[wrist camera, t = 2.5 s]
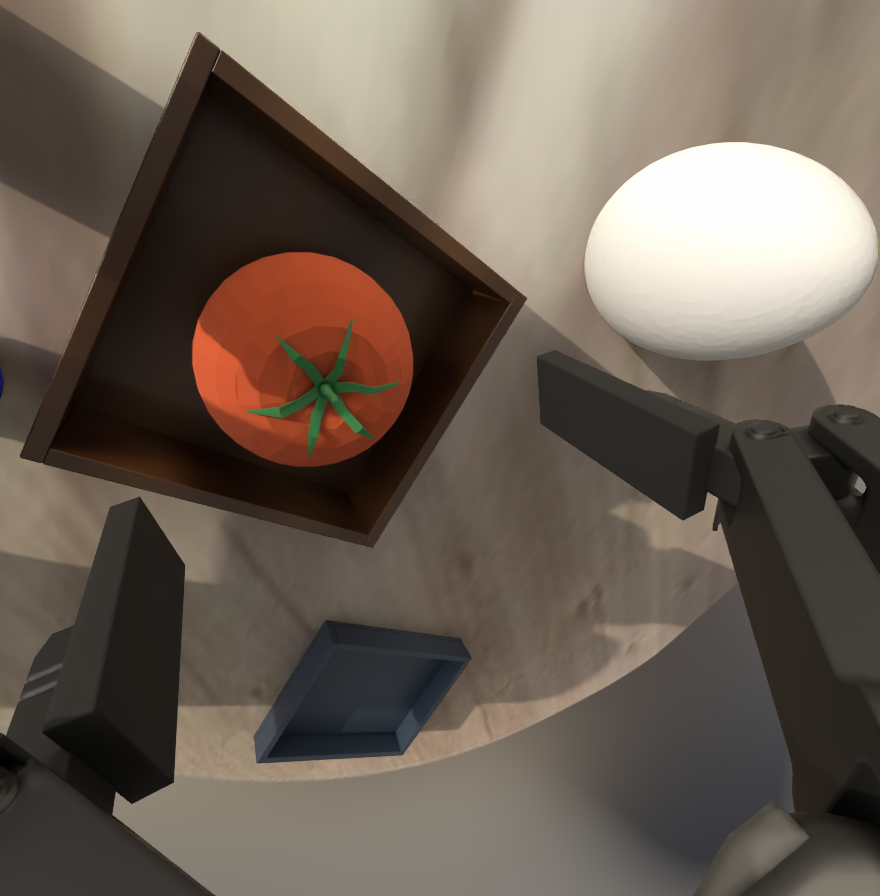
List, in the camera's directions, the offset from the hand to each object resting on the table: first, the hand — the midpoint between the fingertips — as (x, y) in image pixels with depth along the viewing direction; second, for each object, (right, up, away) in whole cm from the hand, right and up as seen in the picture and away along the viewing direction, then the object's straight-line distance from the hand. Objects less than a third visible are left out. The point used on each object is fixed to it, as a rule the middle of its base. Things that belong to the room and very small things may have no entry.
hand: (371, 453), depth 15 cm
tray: (-5, -22, +28) cm, 36 cm away
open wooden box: (-6, +7, +12) cm, 15 cm away
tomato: (-6, +6, +12) cm, 15 cm away
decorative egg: (+16, +15, +19) cm, 29 cm away
